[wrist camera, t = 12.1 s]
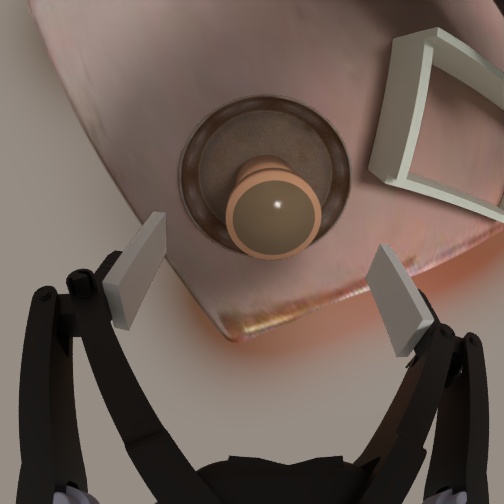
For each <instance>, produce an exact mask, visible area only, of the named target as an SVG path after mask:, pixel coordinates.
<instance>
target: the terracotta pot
mask: <svg viewBox="0 0 504 504" xmlns="http://www.w3.org/2000/svg"><path fill="white" fill-rule="evenodd" d="M320 224H321V206H320V203H319V200H318V198H317V196H316V194H315V193H314V191H313V190H312V188H311V187H310V185H309V184H308V183H307V182H306V180H305V179H303V178H302V177H301V176H300V175H298V174H296V173H295V172H294V170H293V168H292V167H291V166H290V164H289V163H288V162H286V161H285V160H283V159H282V158H280V157H277V156H274V155H260V156H256V157H254V158H252V159H250V160H249V161H247V162H246V163H245V164H244V165H243V166H242V167H241V169H240V170H239V172H238V175H237V178H236V186H235V187H234V188H233V190H232V192H231V194H230V196H229V199H228V203H227V210H226V226H227V230H228V233H229V235H230V237H231V239H232V240H233V242H234V243H235V244H236V245H237V246H238V247H239V248H240V249H241V250H242V251H244V252H245V253H247V254H249V255H251V256H253V257H256V258H259V259H264V260H279V259H284V258H288V257H291V256H293V255H295V254H297V253H299V252H301V251H302V250H303V249H305V248H306V247H307V246H308V245H309V244H310V243H311V242H312V241H313V239H314V238H315V236H316V234H317V232H318V230H319V227H320Z"/></svg>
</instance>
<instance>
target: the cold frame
mask: <svg viewBox="0 0 504 504" xmlns="http://www.w3.org/2000/svg"><path fill="white" fill-rule="evenodd" d="M431 65H434V66H435V67H437V68H439V69H441V70H443V71H445V72H446V73H448V74H450V75H452V76H453V77H455V78H457V79H458V80H460V81H462V82H463V83H465V84H466V85H468V86H470V87H471V88H473V89H474V90H476V91H477V92H479V93H480V94H482V95H483V96H484V97H486V98H487V99H489V100H490V101H491V102H493V103H494V104H495V105H497V106H498V107H499V108H501V109H502V110H503V111H504V73H503V72H502V71H501V70H499V69H498V68H497V67H496V66H495V65H493V64H492V63H491V62H489V61H488V60H487V59H486V58H484V57H483V56H482V55H480V54H479V53H477V52H476V51H475V50H473V49H472V48H470V47H469V46H468V45H466V44H465V43H463V42H462V41H460V40H458V39H457V38H455V37H454V36H452V35H451V34H449V33H447V32H446V31H444V30H442V29H441V28H439V27H435V28H431V29H427V30H422V31H419V32H415V33H411V34H407V35H404V36H401V37H397V38H394V39H393V43H392V50H391V58H390V64H389V71H388V77H387V83H386V88H385V94H384V99H383V104H382V109H381V114H380V118H379V123H378V128H377V132H376V136H375V141H374V145H373V149H372V153H371V157H370V161H369V165H368V168H367V169H368V170H369V171H370V172H372V173H373V174H374V175H375V176H377V177H378V178H379V179H380V180H381V181H383V182H384V183H385V184H389V185H393V186H396V187H400V188H404V189H407V190H411V191H414V192H417V193H421V194H424V195H427V196H430V197H434V198H437V199H440V200H443V201H446V202H449V203H452V204H455V205H458V206H460V207H463V208H466V209H469V210H471V211H474V212H477V213H479V214H482V215H485V216H487V217H490V218H492V219H495V220H497V221H500V222H502V223H504V195H503V198H502V201H501V203H500V206H499V207H498V206H495V205H493V204H491V203H489V202H487V201H484V200H482V199H480V198H477V197H475V196H473V195H470V194H468V193H465V192H463V191H460V190H458V189H455V188H453V187H450V186H447V185H445V184H442V183H439V182H436V181H434V180H431V179H428V178H425V177H422V176H419V175H416V174H413V173H410V172H409V168H410V165H411V161H412V157H413V154H414V150H415V146H416V142H417V138H418V134H419V130H420V126H421V121H422V116H423V112H424V107H425V102H426V96H427V91H428V85H429V79H430V72H431Z"/></svg>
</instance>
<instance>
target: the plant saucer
mask: <svg viewBox="0 0 504 504" xmlns="http://www.w3.org/2000/svg"><path fill="white" fill-rule="evenodd" d="M260 155H274V156H277V157H280V158H282V159H283V160H285V161H286V162H288V163H289V164H290V166H291V167H292V168H293V170H294V172H295V173H296V174H298V175H300V176H301V177H302V178H303V179H305V180H306V182H307V183H308V184H309V185H310V187H311V188H312V190H313V191H314V193H315V194H316V196H317V198H318V200H319V203H320V206H321V224H320V227H319V230H318V232H317V234H316V236H315V238H314V239H313V241H312V242H311V243H310V244H309V245H308V246H307V247H306V248H308V247H310V246H311V245H313V244H315V243H316V242H318V241H319V240H320V239H322V238H323V237H324V236H325V235H326V234H327V233H328V232H329V231H330V230H331V229H332V228H333V227H334V226H335V224H336V223H337V222H338V220H339V219H340V217H341V215H342V213H343V212H344V210H345V207H346V205H347V202H348V199H349V196H350V192H351V185H352V168H351V161H350V157H349V153H348V150H347V148H346V145H345V143H344V141H343V139H342V138H341V136H340V134H339V133H338V131H337V130H336V129H335V127H334V126H333V125H332V124H331V123H330V121H329V120H328V119H326V118H325V117H324V116H323V115H322V114H321V113H319V112H318V111H316V110H315V109H313V108H312V107H310V106H308V105H306V104H305V103H303V102H300V101H298V100H295V99H292V98H289V97H284V96H278V95H253V96H247V97H243V98H239V99H236V100H233V101H231V102H228V103H226V104H224V105H222V106H221V107H219V108H217V109H216V110H214V111H213V112H212V113H210V114H209V115H208V116H207V117H205V118H204V119H203V120H202V121H201V123H200V124H199V125H198V126H197V127H196V128H195V130H194V131H193V133H192V134H191V136H190V137H189V139H188V141H187V143H186V145H185V148H184V150H183V153H182V157H181V161H180V166H179V187H180V192H181V197H182V200H183V203H184V206H185V208H186V210H187V212H188V214H189V216H190V218H191V219H192V221H193V222H194V224H195V225H196V226H197V227H198V229H199V230H200V231H201V232H202V233H203V234H204V235H206V236H207V237H208V238H209V239H210V240H212V241H213V242H215V243H216V244H218V245H219V246H221V247H223V248H225V249H227V250H229V251H232V252H234V253H237V254H240V255H245V256H249V257H253V256H251V255H249V254H247V253H245V252H244V251H242V250H241V249H240V248H239V247H238V246H237V245H236V244H235V243H234V242H233V240H232V239H231V237H230V235H229V233H228V230H227V226H226V210H227V203H228V199H229V196H230V194H231V192H232V190H233V188H234V187H235V186H236V178H237V175H238V172H239V170H240V169H241V167H242V166H243V165H244V164H245V163H246V162H247V161H249V160H250V159H252V158H254V157H256V156H260ZM306 248H305V249H306ZM303 250H304V249H303Z"/></svg>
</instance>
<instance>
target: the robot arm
mask: <svg viewBox="0 0 504 504" xmlns="http://www.w3.org/2000/svg"><path fill="white" fill-rule="evenodd" d="M493 1H494V3H495V4H496V6H497V7H498V9H499V10H500V12H501V14H502V15H503V17H504V0H493ZM166 252H167V247H166V213H164V212H155V211H153V213H152V214H151V215H150V217H149V218H148V219H147V220H146V222H145V223H144V224H143V226H142V227H141V228H140V230H139V231H138V232H137V233H136V235H135V236H134V238H133V239H132V240H131V242H130V243H129V244H128V246H127V247H126V248H125V250H124V251H123V252H122V251H114V252H112V253H111V254H109V255H108V256H107V257H106V258H105V260H104V261H103V263H102V264H101V265H100V267H99V268H98V269H97V271H96V272H95V273H93V272H92V271H91V270H88V269H78V270H76V271H73V272H72V273H71V274H69V275H68V277H67V279H66V284H67V287H68V290H69V293H70V294H58V293H57V291H56V289H55V288H54V287H52V286H44V287H41V288H39V289H38V290H37V291H36V292H35V293H34V295H33V297H32V302H31V306H30V311H29V316H28V321H27V326H26V332H25V339H24V345H23V353H22V362H21V372H20V386H19V438H20V451H21V461H22V464H21V469H20V475H19V481H18V489H17V497H16V504H99V502H98V501H97V500H96V499H95V498H94V497H93V496H92V495H90V494H88V488H87V478H86V473H85V467H84V462H83V457H82V452H81V446H80V441H79V434H78V427H77V419H76V409H75V398H74V384H73V337H81V338H82V341H83V344H84V347H85V351H86V353H87V357H88V360H89V362H90V365H91V368H92V371H93V374H94V377H95V379H96V382H97V384H98V387H99V389H100V392H101V394H102V397H103V399H104V401H105V404H106V406H107V408H108V411H109V413H110V415H111V417H112V419H113V422H114V423H115V426H116V428H117V430H118V432H119V434H120V435H121V438H122V440H123V442H124V444H125V448H126V451H127V453H128V455H129V457H130V458H131V460H132V462H133V464H134V465H135V467H136V469H137V470H138V472H139V474H140V475H141V477H142V479H143V480H144V482H145V483H146V485H147V486H148V488H149V489H150V491H151V492H152V494H153V495H154V497H155V498H156V500H157V501H158V502H156V503H155V504H402V502H403V501H404V499H405V497H406V495H407V493H408V492H409V490H410V488H411V486H412V484H413V482H414V480H415V478H416V476H417V474H418V472H419V470H420V468H421V466H422V463H423V461H424V459H425V457H426V453H427V452H426V450H425V449H424V448H423V445H424V442H425V440H426V438H427V435H428V432H429V430H430V428H431V425H432V422H433V419H434V416H435V414H436V411H437V408H438V412H437V422H436V430H435V437H434V444H433V450H432V455H431V460H430V466H429V470H428V475H427V479H426V484H425V489H424V498H423V503H422V504H489V494H488V483H487V474H486V471H487V461H488V447H489V445H488V444H489V402H488V387H487V376H486V368H485V360H484V354H483V347H482V343H481V340H480V339H479V337H478V336H477V335H476V334H474V333H471V332H469V333H467V334H466V335H465V336H464V338H460V337H457V336H455V333H454V331H453V330H452V329H451V328H450V327H449V326H448V325H446V324H442V323H440V321H439V319H438V317H437V315H436V313H435V312H434V310H433V308H431V304H430V303H429V301H428V299H427V297H426V296H425V294H424V293H422V292H421V291H420V289H417V288H416V286H415V284H414V283H413V281H412V279H411V278H410V276H409V274H408V273H407V271H406V269H405V268H404V266H403V265H402V263H401V261H400V260H399V258H398V257H397V255H396V254H395V252H394V251H393V249H392V248H391V246H390V245H386V244H380V245H379V247H378V250H377V252H376V255H375V257H374V259H373V262H372V264H371V267H370V269H369V271H368V274H367V276H366V281H367V283H368V285H369V287H370V290H371V292H372V294H373V297H374V299H375V302H376V304H377V307H378V309H379V312H380V314H381V316H382V319H383V322H384V324H385V327H386V329H387V332H388V335H389V337H390V340H391V343H392V345H393V348H394V351H395V354H396V357H407V356H408V355H409V354H410V353H411V352H412V350H413V349H414V351H415V353H416V355H415V356H414V357H413V359H412V360H411V361H410V362H409V363H408V365H407V366H406V368H408V366H409V368H408V370H407V372H406V374H405V377H404V379H403V381H402V384H401V385H400V387H399V390H398V391H397V394H396V396H395V398H394V399H393V401H392V403H391V405H390V407H389V409H388V411H387V413H386V415H385V416H384V418H383V420H382V422H381V424H380V426H379V427H378V429H377V430H376V432H375V434H374V436H373V437H372V439H371V440H370V442H369V444H368V445H367V447H366V448H365V450H364V452H363V453H362V454H361V456H360V457H359V458H358V459H357V460H356V461H355V462H354V463H353V464H351V463H348V462H344V461H343V456H333V457H320V458H314V459H311V460H307V461H304V462H300V463H296V464H292V465H285V464H281V463H276V462H272V461H269V460H265V459H261V458H252V457H238V456H229V458H228V460H226V461H220V462H216V463H212V464H209V465H207V466H205V467H202V468H200V469H199V470H197V471H195V470H194V469H193V467H192V466H191V465H190V463H189V462H188V460H187V459H186V458H185V456H184V455H183V453H182V452H181V451H180V449H179V448H178V446H177V445H176V443H175V442H174V440H173V439H172V437H171V436H170V434H169V433H168V431H167V430H166V429H165V428H164V427H163V425H162V424H161V422H160V421H159V419H158V417H157V415H156V414H155V412H154V410H153V409H152V407H151V405H150V403H149V402H148V400H147V398H146V396H145V394H144V393H143V391H142V389H141V387H140V385H139V383H138V381H137V380H136V377H135V375H134V373H133V372H132V369H131V367H130V366H129V363H128V361H127V359H126V357H125V355H124V353H123V351H122V349H121V347H120V344H119V342H118V339H117V337H116V335H115V332H114V330H113V328H112V325H111V323H110V322H111V320H113V324H114V327H116V328H120V329H124V330H129V329H130V327H131V325H132V323H133V320H134V318H135V316H136V314H137V312H138V309H139V307H140V305H141V303H142V301H143V299H144V297H145V295H146V292H147V290H148V288H149V286H150V284H151V282H152V280H153V278H154V276H155V274H156V272H157V270H158V268H159V266H160V264H161V262H162V260H163V258H164V256H165V254H166ZM461 371H462V373H461Z"/></svg>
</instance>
